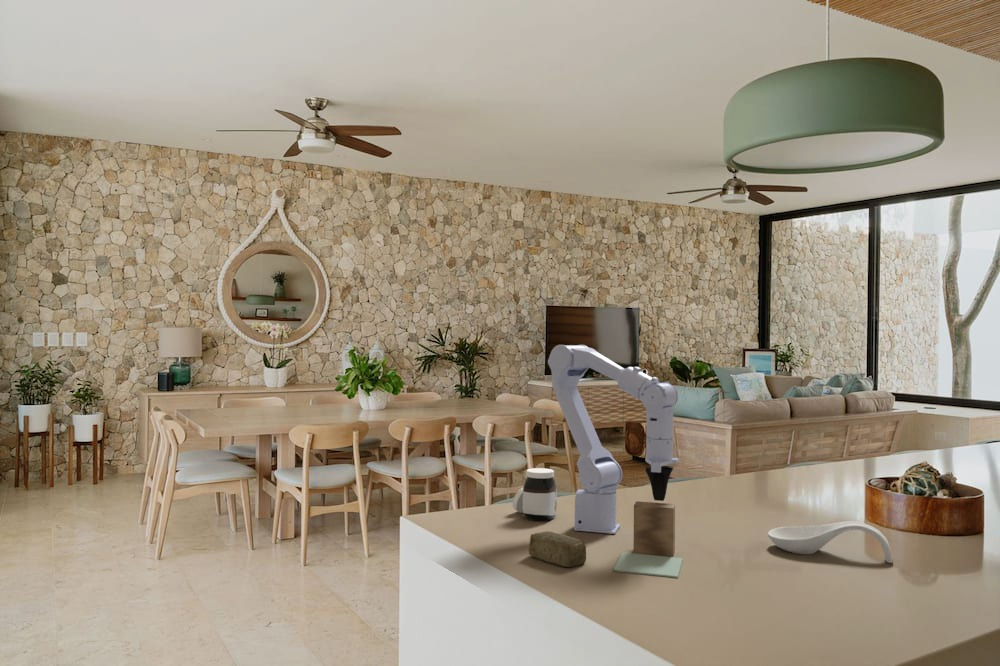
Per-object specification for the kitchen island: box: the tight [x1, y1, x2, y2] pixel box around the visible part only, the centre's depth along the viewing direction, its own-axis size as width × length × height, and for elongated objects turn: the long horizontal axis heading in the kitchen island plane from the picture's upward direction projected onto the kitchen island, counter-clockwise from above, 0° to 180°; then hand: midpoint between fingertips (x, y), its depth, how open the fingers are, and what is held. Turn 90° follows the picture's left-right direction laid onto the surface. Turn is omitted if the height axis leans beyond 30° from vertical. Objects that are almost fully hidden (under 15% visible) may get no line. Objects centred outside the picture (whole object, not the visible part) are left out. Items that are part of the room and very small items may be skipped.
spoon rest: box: [767, 520, 893, 564], centre depth 155 cm, size 24×12×7 cm, turn 66°
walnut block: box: [633, 501, 676, 557], centre depth 154 cm, size 8×4×10 cm, turn 72°
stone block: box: [528, 530, 587, 568], centre depth 148 cm, size 6×12×5 cm, turn 44°
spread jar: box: [512, 467, 558, 522], centre depth 185 cm, size 12×11×12 cm
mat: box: [613, 552, 684, 579], centre depth 145 cm, size 12×12×1 cm
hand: (659, 500), depth 162 cm, fingers closed
